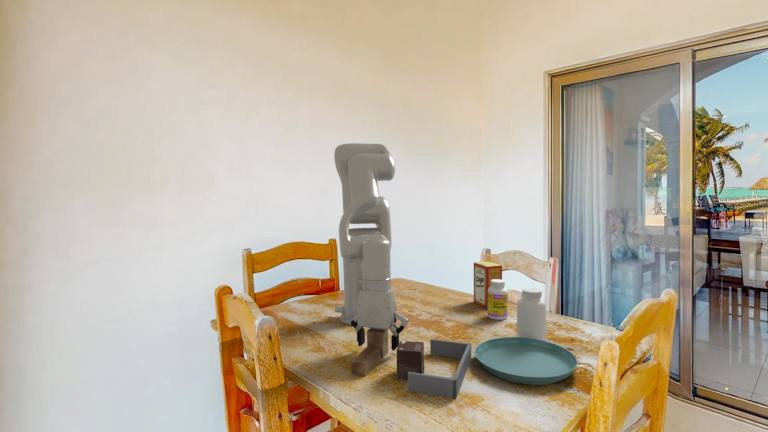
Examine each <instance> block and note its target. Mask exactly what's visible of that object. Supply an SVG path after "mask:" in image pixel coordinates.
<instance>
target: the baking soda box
mask: <svg viewBox="0 0 768 432" xmlns="http://www.w3.org/2000/svg"><path fill="white" fill-rule="evenodd" d="M493 279H501V280H503V265H502V264H498V263H495V262H491V261H476V262H473V303H475V304H477V305H479V306H481V307H483V308H485V309H488V289H489V288H490V287H491V286H492V285H491V280H493Z"/></svg>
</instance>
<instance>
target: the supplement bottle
mask: <svg viewBox="0 0 768 432" xmlns="http://www.w3.org/2000/svg"><path fill="white" fill-rule="evenodd" d="M491 285H492V286H491V287H490V288H489V289H488V308H487V317H488V318H490V319H492V320H497V321H500V320H501V321H503V320H506V319H508V316H509V315H508V313H509V311H508V308H509V291H508V289H507V287H505V285H506V280H503V279H502V280H501V279H493V280H491Z"/></svg>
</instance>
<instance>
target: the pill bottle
mask: <svg viewBox="0 0 768 432" xmlns="http://www.w3.org/2000/svg"><path fill="white" fill-rule="evenodd" d="M521 290H522V291H521V297H519V299H517V302H516V337H523V338H532V339H538V340H543V341H547V304H546V301H545V300H543V299H542V295H543V293H542V290H541V289H537V288H532V287H526V288H523V289H521Z"/></svg>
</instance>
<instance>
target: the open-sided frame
mask: <svg viewBox="0 0 768 432" xmlns="http://www.w3.org/2000/svg"><path fill="white" fill-rule="evenodd" d="M429 339H430V341H429V342H430V345H429V346H430V347H429V348H430V355H433V356H443V357H450V358H455V359H456V358H457V359H458V358H459V359H460V362H459V363H458V367H457V369H456V371H455V374H454V375H453V377H446V376H440V375H433V374H427V373H424V374H421V373H415V372H408V380H407V391H409V392H414V393H419V394H425V395H432V396H439V397H442V398H444V397H445V398H450V399H456V398H458V396H459V394H460V389H461V387H462V385H463V382H464V379H465V377H466V374H467V371H468V368H469V367H470V363H471V360H472V343H470V342H461V341H453V340H444V339H438V338H437V339H436V338H429ZM456 400H457V399H456Z"/></svg>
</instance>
